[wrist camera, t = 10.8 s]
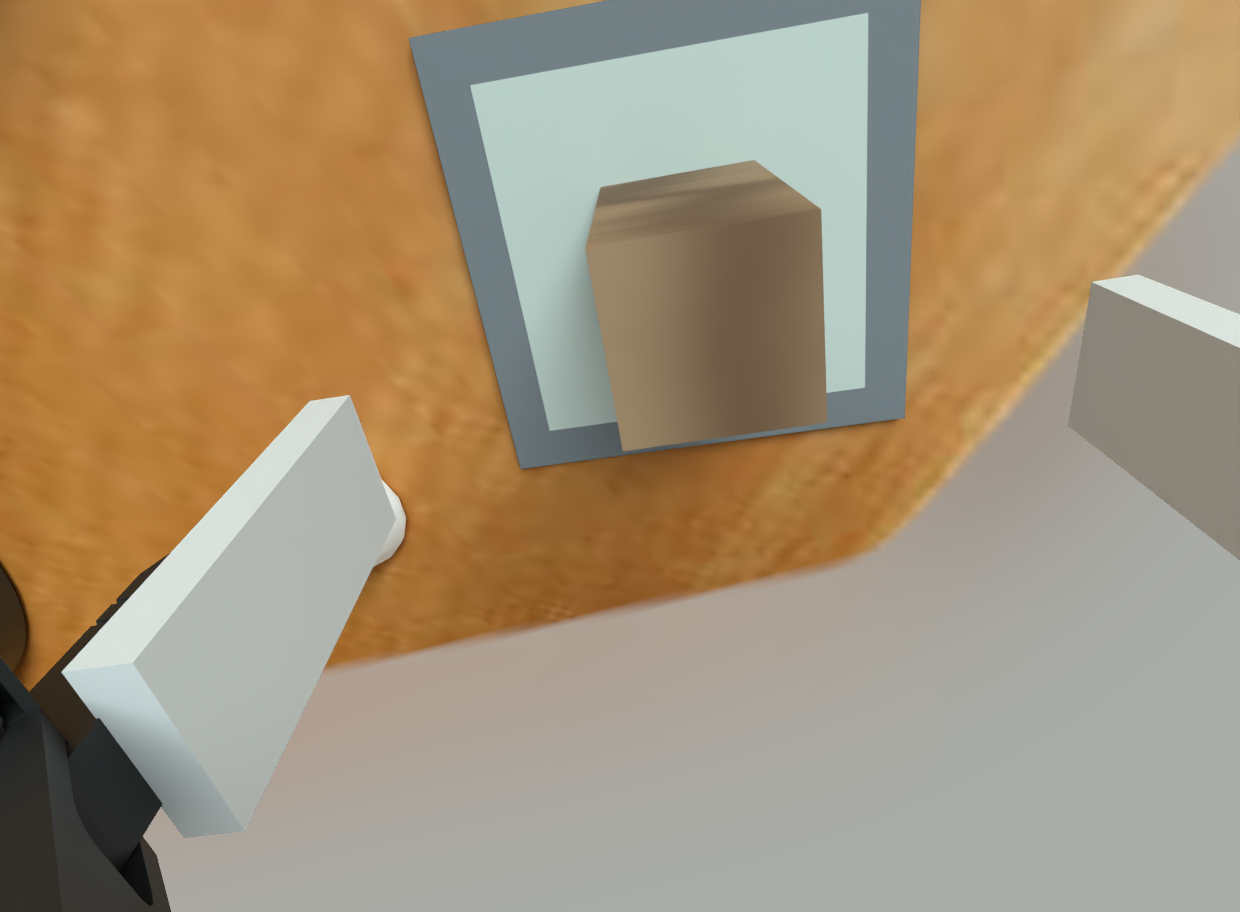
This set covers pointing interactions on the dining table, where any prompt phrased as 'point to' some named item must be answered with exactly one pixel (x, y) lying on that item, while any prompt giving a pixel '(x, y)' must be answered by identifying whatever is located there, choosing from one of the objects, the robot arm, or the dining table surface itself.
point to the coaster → (664, 145)
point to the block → (709, 304)
